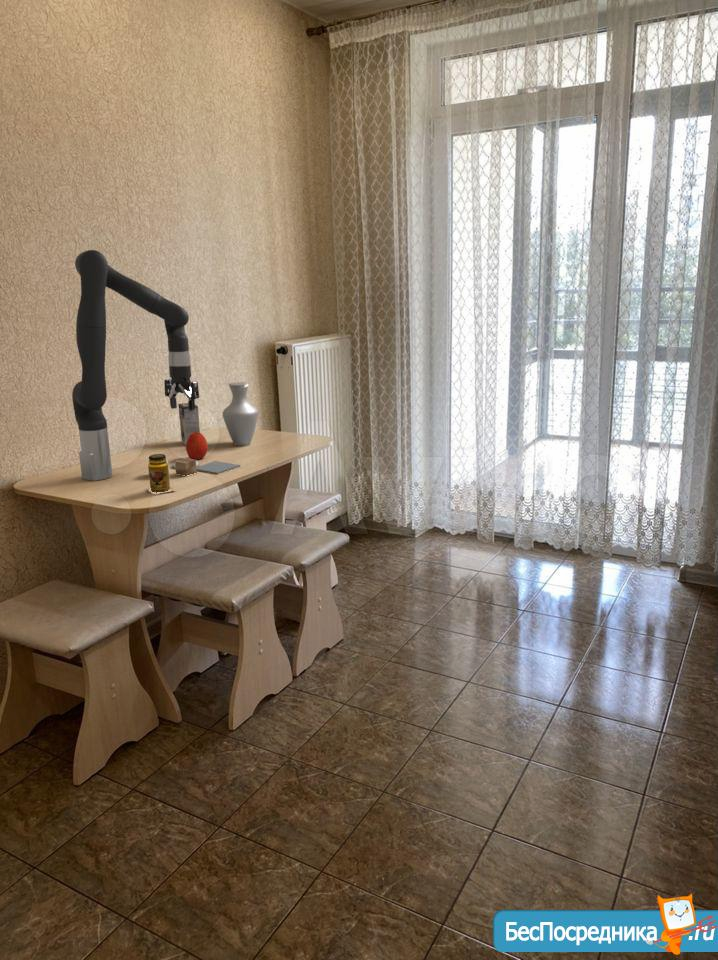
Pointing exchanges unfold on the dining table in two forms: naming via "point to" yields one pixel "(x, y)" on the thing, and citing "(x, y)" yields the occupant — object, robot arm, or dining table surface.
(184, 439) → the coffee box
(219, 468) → the slate pad
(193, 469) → the walnut block
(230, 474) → the dining table surface
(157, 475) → the condiment
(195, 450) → the red egg
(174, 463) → the saucer
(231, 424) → the vase
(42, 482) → the dining table surface
